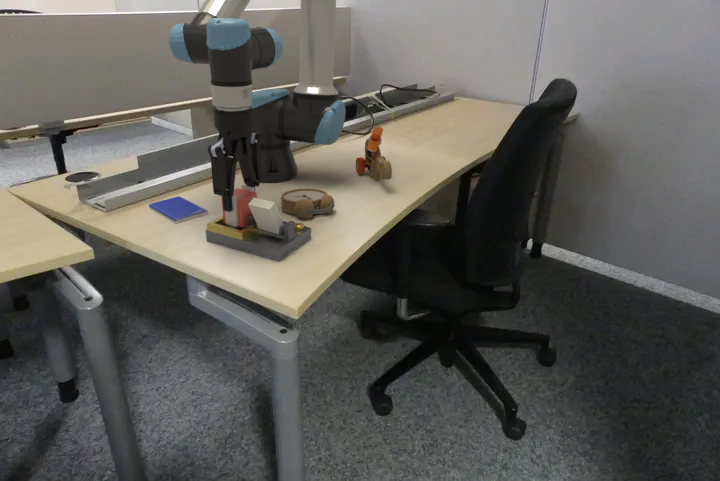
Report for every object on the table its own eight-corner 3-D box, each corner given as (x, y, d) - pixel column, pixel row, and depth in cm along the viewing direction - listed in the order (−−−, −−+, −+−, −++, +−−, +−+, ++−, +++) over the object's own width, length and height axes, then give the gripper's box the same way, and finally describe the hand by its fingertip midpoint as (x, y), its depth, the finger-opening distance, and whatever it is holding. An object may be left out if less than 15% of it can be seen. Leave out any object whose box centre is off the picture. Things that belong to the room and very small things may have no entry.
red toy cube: (239, 214, 111) (237, 188, 109) (258, 219, 110) (256, 192, 107) (223, 222, 107) (221, 195, 105) (243, 227, 105) (241, 200, 103)
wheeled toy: (380, 169, 155) (383, 123, 149) (402, 193, 137) (406, 142, 131) (354, 170, 153) (355, 123, 147) (372, 195, 135) (375, 143, 129)
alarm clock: (312, 185, 132) (344, 194, 120) (314, 204, 133) (345, 214, 121) (272, 193, 126) (300, 202, 114) (274, 212, 128) (303, 224, 116)
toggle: (263, 225, 107) (251, 196, 102) (287, 231, 105) (277, 202, 99) (258, 231, 106) (246, 203, 100) (282, 238, 104) (271, 209, 98)
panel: (243, 220, 117) (241, 195, 115) (311, 238, 110) (310, 212, 108) (206, 240, 108) (203, 213, 105) (278, 261, 101) (277, 233, 98)
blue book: (207, 209, 120) (179, 195, 127) (175, 219, 114) (148, 204, 122) (208, 216, 121) (180, 201, 128) (176, 226, 115) (149, 210, 123)
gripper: (216, 118, 90) (226, 239, 100) (277, 102, 104) (280, 209, 114) (183, 112, 92) (196, 231, 102) (247, 97, 107) (253, 202, 117)
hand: (241, 219), depth 108 cm, fingers closed on red toy cube, 5 cm apart
